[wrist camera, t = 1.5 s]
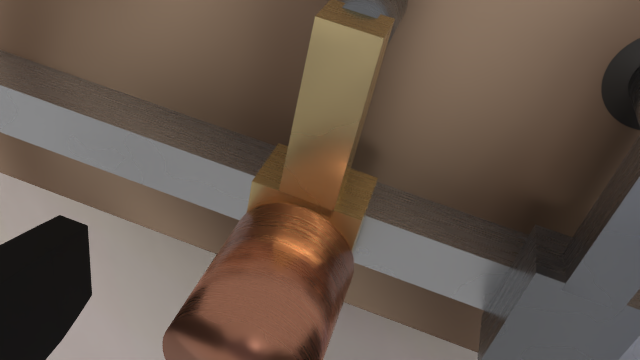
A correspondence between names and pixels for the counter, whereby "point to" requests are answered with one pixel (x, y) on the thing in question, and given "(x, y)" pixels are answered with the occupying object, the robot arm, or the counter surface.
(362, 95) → the sliding leg
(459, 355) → the counter surface
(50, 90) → the steel beam
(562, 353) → the fixed leg
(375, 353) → the counter surface
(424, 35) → the hole plate
